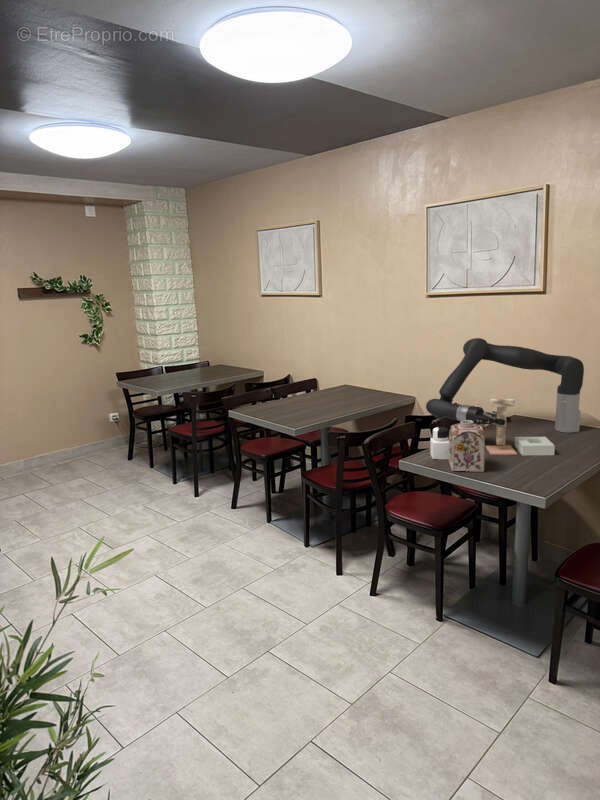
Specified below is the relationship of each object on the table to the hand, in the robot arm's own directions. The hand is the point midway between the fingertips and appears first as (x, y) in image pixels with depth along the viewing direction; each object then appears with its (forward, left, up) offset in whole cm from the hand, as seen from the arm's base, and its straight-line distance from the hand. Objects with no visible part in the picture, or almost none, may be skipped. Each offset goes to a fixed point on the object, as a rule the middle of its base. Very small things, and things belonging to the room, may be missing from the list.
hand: (507, 421), depth 222 cm
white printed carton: (+27, +5, -13) cm, 30 cm away
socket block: (-11, -2, -13) cm, 17 cm away
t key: (+2, -2, -10) cm, 10 cm away
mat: (+2, -2, -13) cm, 13 cm away
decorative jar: (+19, +17, -13) cm, 29 cm away
